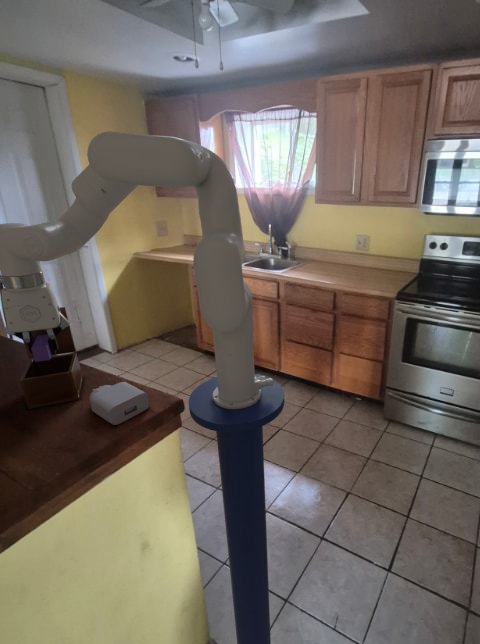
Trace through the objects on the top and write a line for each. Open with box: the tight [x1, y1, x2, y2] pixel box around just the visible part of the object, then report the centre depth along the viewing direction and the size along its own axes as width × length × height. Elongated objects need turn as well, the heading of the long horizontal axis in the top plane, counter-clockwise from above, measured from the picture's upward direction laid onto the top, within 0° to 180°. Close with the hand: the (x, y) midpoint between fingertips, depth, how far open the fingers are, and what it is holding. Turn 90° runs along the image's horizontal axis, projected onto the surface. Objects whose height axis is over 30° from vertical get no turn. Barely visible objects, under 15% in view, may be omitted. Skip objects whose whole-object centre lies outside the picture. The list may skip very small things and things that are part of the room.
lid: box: [22, 306, 77, 360], centre depth 96 cm, size 12×11×5 cm
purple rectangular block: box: [31, 334, 53, 362], centre depth 90 cm, size 8×3×4 cm, turn 24°
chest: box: [19, 352, 84, 410], centre depth 94 cm, size 12×11×8 cm
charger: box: [89, 381, 150, 426], centre depth 89 cm, size 5×9×15 cm
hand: (45, 353), depth 91 cm, fingers closed on purple rectangular block, 3 cm apart
